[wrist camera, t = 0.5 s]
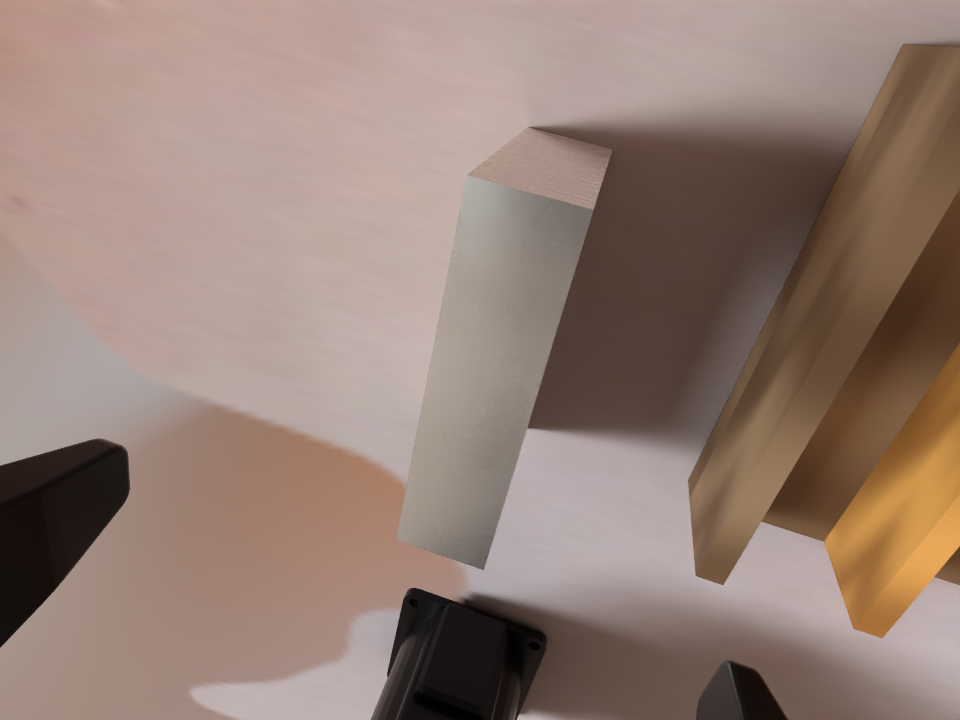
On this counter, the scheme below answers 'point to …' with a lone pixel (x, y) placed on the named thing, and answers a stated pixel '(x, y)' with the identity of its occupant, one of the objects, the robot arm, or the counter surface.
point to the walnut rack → (859, 369)
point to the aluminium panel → (496, 335)
